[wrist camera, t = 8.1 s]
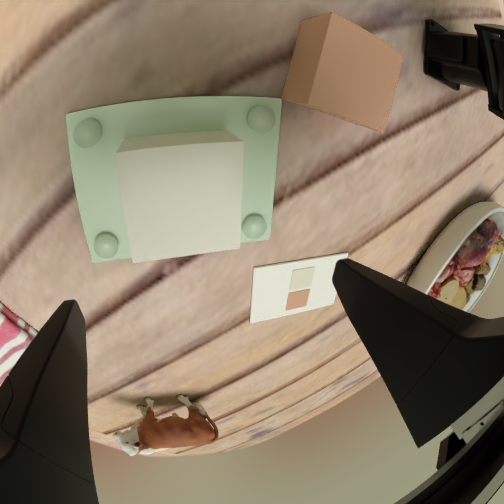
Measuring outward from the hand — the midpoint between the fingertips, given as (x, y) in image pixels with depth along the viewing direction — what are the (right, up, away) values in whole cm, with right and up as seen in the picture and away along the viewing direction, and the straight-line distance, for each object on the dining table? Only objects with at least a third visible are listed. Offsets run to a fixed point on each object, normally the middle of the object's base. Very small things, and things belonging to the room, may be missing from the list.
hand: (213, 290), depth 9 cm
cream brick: (-4, +6, +9) cm, 11 cm away
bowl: (+35, -2, +31) cm, 47 cm away
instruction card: (+6, -2, +19) cm, 20 cm away
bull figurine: (-11, -19, +24) cm, 32 cm away
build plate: (-4, +6, +9) cm, 12 cm away
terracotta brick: (+7, +14, +8) cm, 18 cm away
